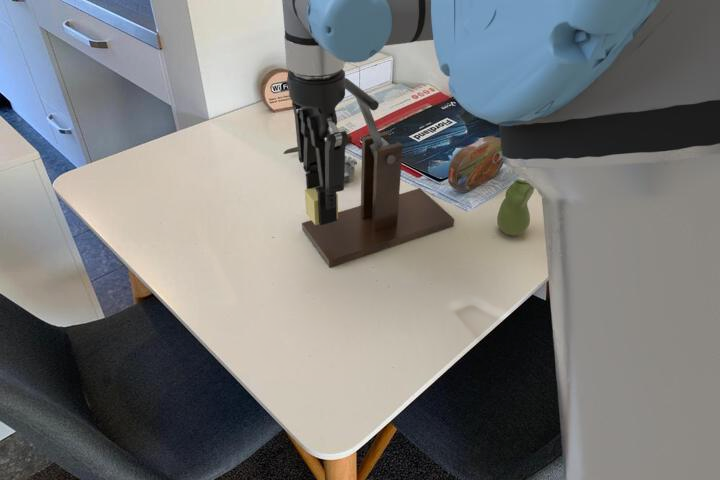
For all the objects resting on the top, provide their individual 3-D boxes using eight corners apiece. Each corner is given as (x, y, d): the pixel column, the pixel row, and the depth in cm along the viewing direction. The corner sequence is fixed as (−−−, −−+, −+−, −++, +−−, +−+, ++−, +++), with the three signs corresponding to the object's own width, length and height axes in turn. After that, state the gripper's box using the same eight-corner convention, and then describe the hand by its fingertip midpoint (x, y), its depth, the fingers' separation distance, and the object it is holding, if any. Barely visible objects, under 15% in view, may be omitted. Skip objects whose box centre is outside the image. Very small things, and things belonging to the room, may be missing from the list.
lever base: (329, 267, 82) (326, 176, 72) (302, 229, 90) (295, 142, 79) (453, 226, 91) (467, 139, 81) (419, 194, 99) (427, 111, 88)
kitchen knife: (349, 140, 115) (349, 132, 114) (352, 143, 114) (352, 134, 113) (282, 155, 110) (281, 147, 108) (284, 158, 109) (283, 150, 107)
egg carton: (359, 180, 103) (360, 162, 100) (326, 191, 99) (326, 173, 97) (331, 157, 109) (331, 139, 107) (299, 166, 106) (298, 149, 104)
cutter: (365, 106, 70) (380, 97, 70) (336, 82, 76) (349, 74, 76) (392, 175, 79) (405, 167, 79) (364, 149, 85) (376, 141, 85)
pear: (503, 218, 93) (514, 170, 87) (531, 229, 91) (545, 180, 84) (489, 233, 90) (499, 184, 83) (518, 245, 87) (530, 196, 81)
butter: (315, 225, 81) (313, 201, 78) (305, 213, 83) (304, 189, 81) (338, 218, 82) (337, 194, 80) (328, 206, 85) (327, 183, 82)
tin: (455, 199, 98) (461, 159, 93) (442, 191, 100) (447, 152, 94) (504, 171, 106) (512, 134, 100) (491, 165, 107) (498, 128, 102)
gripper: (372, 87, 64) (368, 237, 78) (316, 45, 75) (321, 183, 90) (316, 98, 61) (322, 251, 76) (266, 53, 72) (280, 194, 87)
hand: (322, 214), depth 83 cm, fingers closed on butter, 4 cm apart
